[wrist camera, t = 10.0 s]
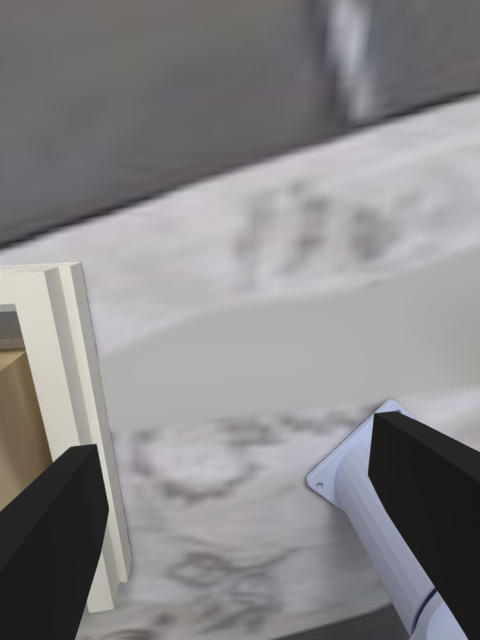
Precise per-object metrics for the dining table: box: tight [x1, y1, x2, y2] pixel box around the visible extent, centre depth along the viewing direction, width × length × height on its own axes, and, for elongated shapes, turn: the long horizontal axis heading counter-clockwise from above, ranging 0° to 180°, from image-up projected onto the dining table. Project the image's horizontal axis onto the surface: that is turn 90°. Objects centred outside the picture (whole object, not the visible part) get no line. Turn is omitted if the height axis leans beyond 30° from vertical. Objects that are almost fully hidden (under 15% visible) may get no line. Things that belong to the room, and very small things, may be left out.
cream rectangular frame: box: [0, 262, 132, 613], centre depth 17 cm, size 20×9×3 cm, turn 2°
